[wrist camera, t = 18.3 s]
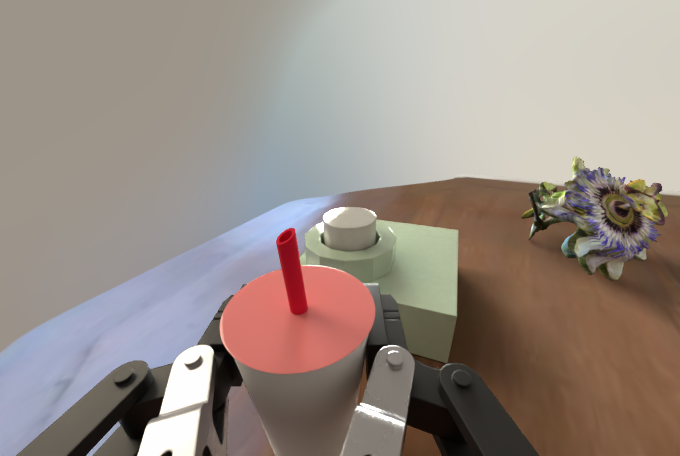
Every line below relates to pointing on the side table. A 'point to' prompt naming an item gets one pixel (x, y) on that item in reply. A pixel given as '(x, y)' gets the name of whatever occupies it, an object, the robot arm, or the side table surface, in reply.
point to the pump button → (349, 229)
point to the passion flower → (601, 217)
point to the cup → (301, 350)
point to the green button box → (405, 278)
